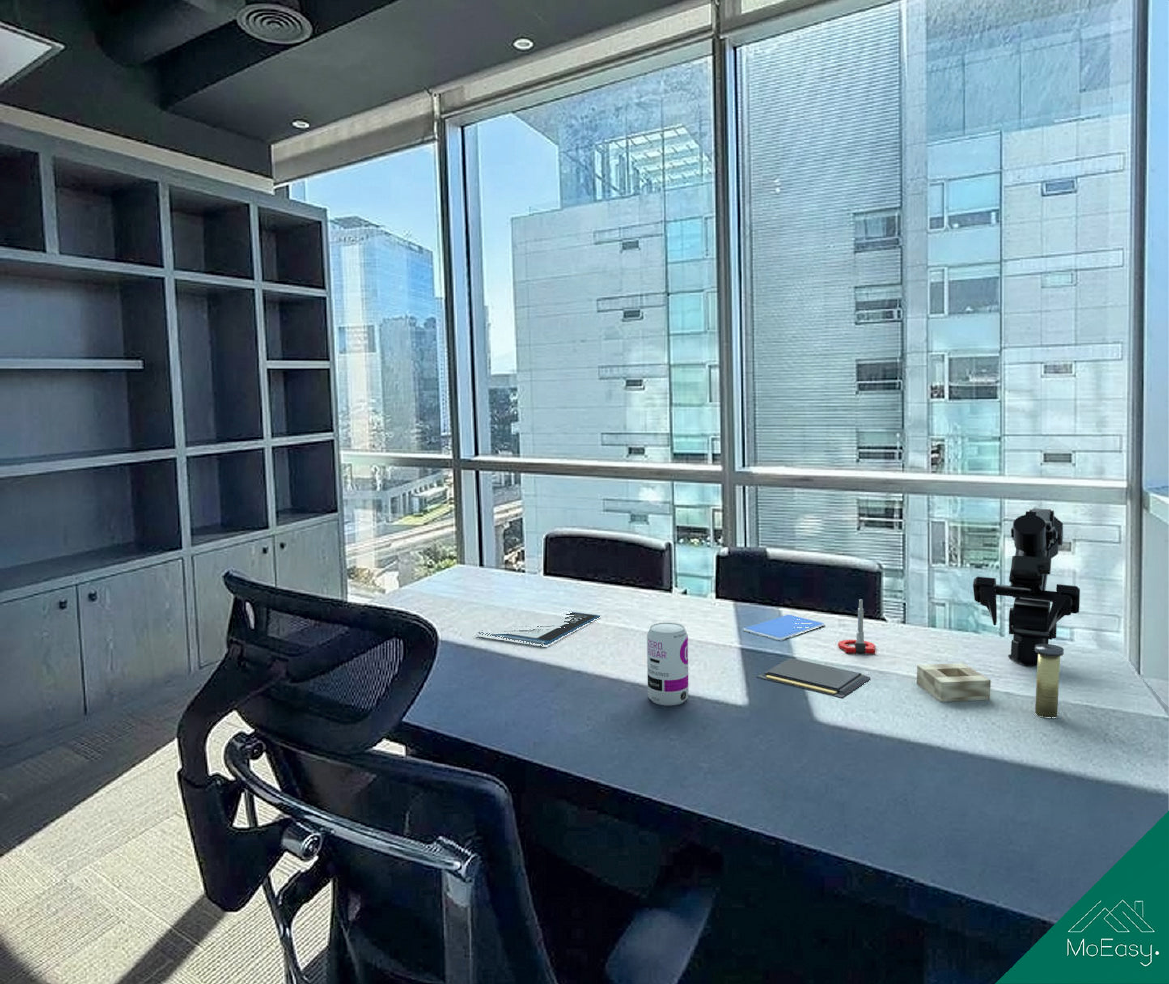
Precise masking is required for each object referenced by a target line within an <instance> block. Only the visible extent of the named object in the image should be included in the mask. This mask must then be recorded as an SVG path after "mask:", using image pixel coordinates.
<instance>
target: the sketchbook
mask: <svg viewBox="0 0 1169 984" xmlns="http://www.w3.org/2000/svg"><path fill="white" fill-rule="evenodd" d="M571 612H572V613H570V614H566V615H574V616H569V617H565V619H571V620H570V621H564V622H558V623H569V624H559V625H551V626H540V627H561V628H553V629H546V630H543V629H542V630H541V629H533V630H531V629H530V630H517V631H516V630H514V631H513V630H511V631H504V632H528V633H513V634H512V633H510V634H509V633H507V634H491V635H492V636H495V637H497V636H498V637H500V636H502V637H503V636H504V637H503V639H504V638H506V640H507V638H508V639H509V640H510V639H512V640H514V641H515V640H518V641H519V640H521V641H523V643H524V641H526V643H527V642H529V644H530V642H531V643H532V644H533V643H535V644H541V645H542V646H543V644H544V645H548V644H551V643H552V642H554V641H555V640H558V639H559V638H561V637H562V636H565V635H567V634H568V633H570V632H573V631H574V630H576V629H577V628H579V627H582V626H583V625H585V624H587V623H590V622H591V621H593V620H594V619H597V618H599V617H600V616H601V617H602V615H598V614H592V613H585V612H577V611H576V612H575V611H571ZM599 619H600V618H599ZM590 624H591V623H590ZM526 627H527V626H526ZM537 627H539V626H537ZM564 627H565V628H564ZM502 632H503V631H502ZM529 632H531V633H529ZM477 633H479V634H481V633H483V632H481V633H480V631H478V632H477ZM483 634H484V633H483ZM483 634H482V635H483ZM486 634H488V633H486ZM486 634H485V635H486ZM489 634H490V633H489ZM489 634H488V635H489ZM488 635H487V636H488ZM491 635H490V636H491ZM502 637H501V638H502ZM521 641H520V642H521ZM541 645H540V646H541Z"/></svg>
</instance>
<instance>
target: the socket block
mask: <svg viewBox="0 0 1169 984" xmlns="http://www.w3.org/2000/svg"><path fill="white" fill-rule="evenodd" d="M991 682H992V681H991V679H989V677H987V676H985V675H984V674H981V672H979V671H977V670H975V669H974V668H972V667H971V666H969V665H968V664H965V663H964V662H962V663H961V662H960V663H959V662H958V663H957V662H956V663H955V662H954V663H939V664H938V663H936V664H918V665H917V666H916V684H917V685H918V686H919V687H920V688H922V689H923V690H925V691H926V692H927V693H929V694H930V695H931V696H932V695H933V696H932V697H934V698H935V699H936V700H938V701H941V703H944V702H946V703H947V702H948V701H949V702H966V701H967V702H968V701H985V700H986V701H989V700H988V699H990V700H991V686H992V685H991Z"/></svg>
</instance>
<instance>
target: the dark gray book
mask: <svg viewBox="0 0 1169 984" xmlns="http://www.w3.org/2000/svg"><path fill="white" fill-rule="evenodd" d="M756 678H757V679H761V680H764V681H769V682H771V683H772V682H773V683H778V684H780V685H781V684H782V685H785V686H789V687H794V688H798V689H802V690H806V691H809V692H814V693H818V694H821V695H825V696H826V695H827V696H830V697H835V698H838V699H845V697H847V696H849V695H852V693H854V692H855V691H857V690H858V689H860V688H862V687H863V686H864V685H865V684H864V683H866V682H867V683H868V682H870V681H871V677H870V676H867V675H865V674H862V673H861V672H857V671H852V670H847V669H842V668H839V667H834V666H830V665H825V664H820V663H815V662H811V661H806V660H802V659H799V658H798V659H797V658H794V657H793V658H792V657H791V658H788V659H786V660H784V661H782V662H780V663H778V664H777V665H775V666H774V667H772V668H770V669H769V670H765V672H763V673H761V674H759V675H757V676H756ZM869 680H870V681H869ZM867 683H866V684H867ZM862 685H863V686H862ZM859 687H860V688H859ZM853 691H854V692H853Z"/></svg>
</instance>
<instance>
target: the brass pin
mask: <svg viewBox="0 0 1169 984" xmlns="http://www.w3.org/2000/svg"><path fill="white" fill-rule="evenodd" d="M1064 650H1065V649H1064V648H1063V647H1062V646H1059V645H1056V644H1050V643H1048V644H1037V645H1035V652H1037V653H1038V661H1037V665H1036V688H1035V708H1034V714H1035V713H1036V714H1037V715H1038V716H1037V715H1036V714H1035V715H1036V716H1037V717H1039V716H1043V717H1051V718H1052V717H1057V718H1058V712H1059V711H1058V708H1059V688H1060V687H1059V686H1060V685H1059V684H1060V672H1061V671H1060V669H1061V668H1060V667H1061V657H1062V656H1063V655H1064V653H1065V651H1064Z"/></svg>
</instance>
